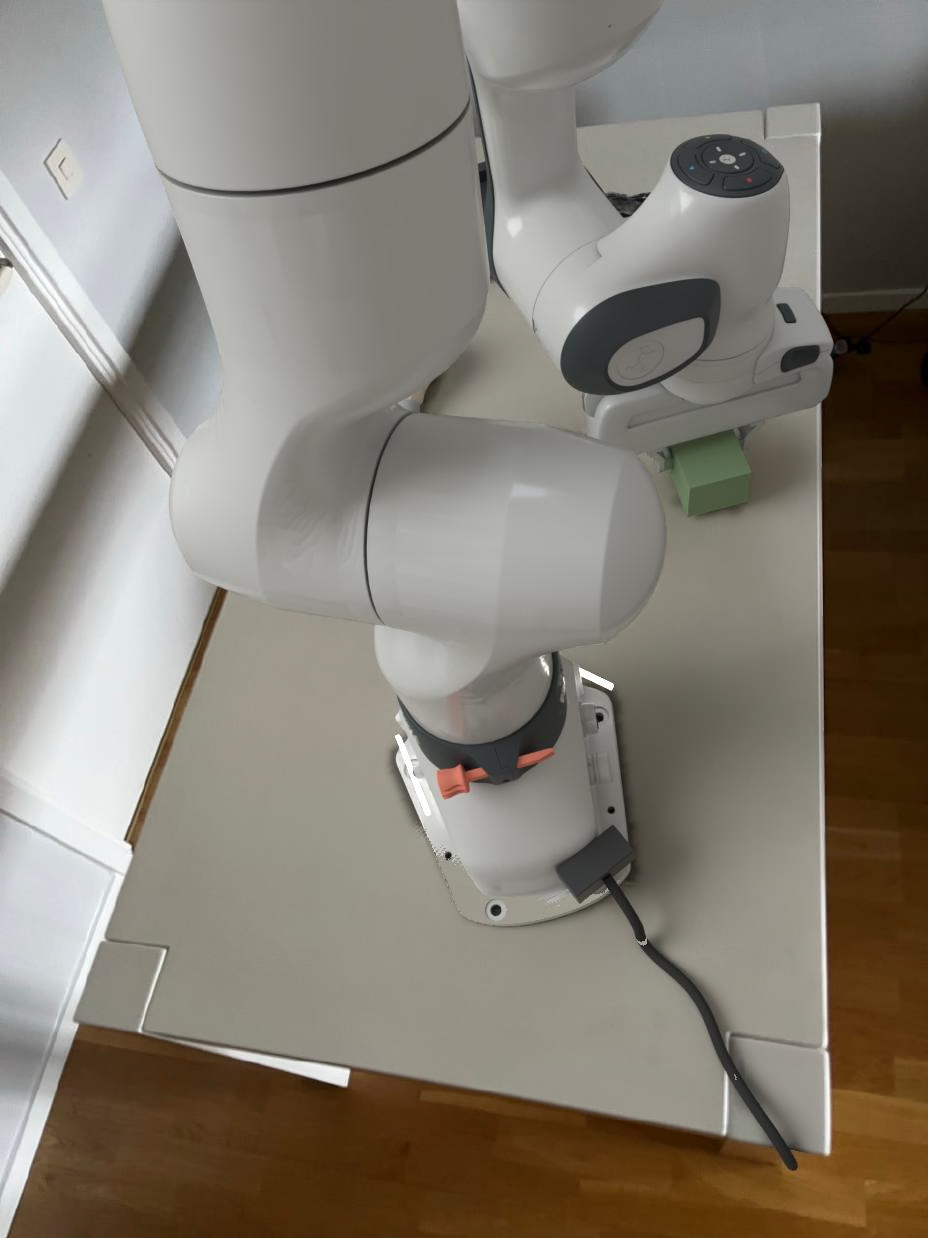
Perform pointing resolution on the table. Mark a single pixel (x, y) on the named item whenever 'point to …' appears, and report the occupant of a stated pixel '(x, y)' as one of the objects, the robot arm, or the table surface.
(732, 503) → the green block
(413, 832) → the table surface
